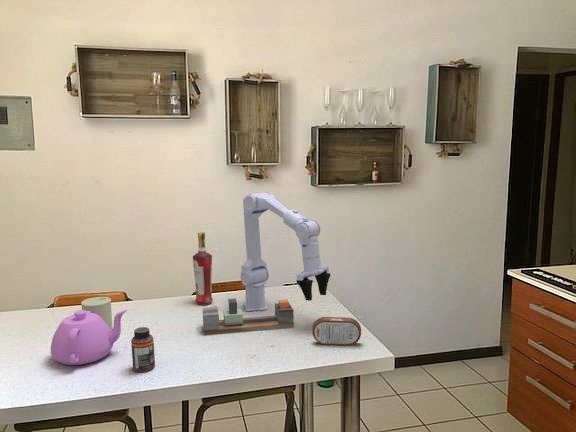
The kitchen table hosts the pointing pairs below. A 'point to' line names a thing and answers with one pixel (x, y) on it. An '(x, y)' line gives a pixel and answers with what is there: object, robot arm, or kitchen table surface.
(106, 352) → the teapot
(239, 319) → the carriage
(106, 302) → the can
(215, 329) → the rail base
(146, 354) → the supplement bottle
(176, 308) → the kitchen table surface
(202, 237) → the liquor
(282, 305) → the button
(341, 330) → the tin
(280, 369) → the kitchen table surface
